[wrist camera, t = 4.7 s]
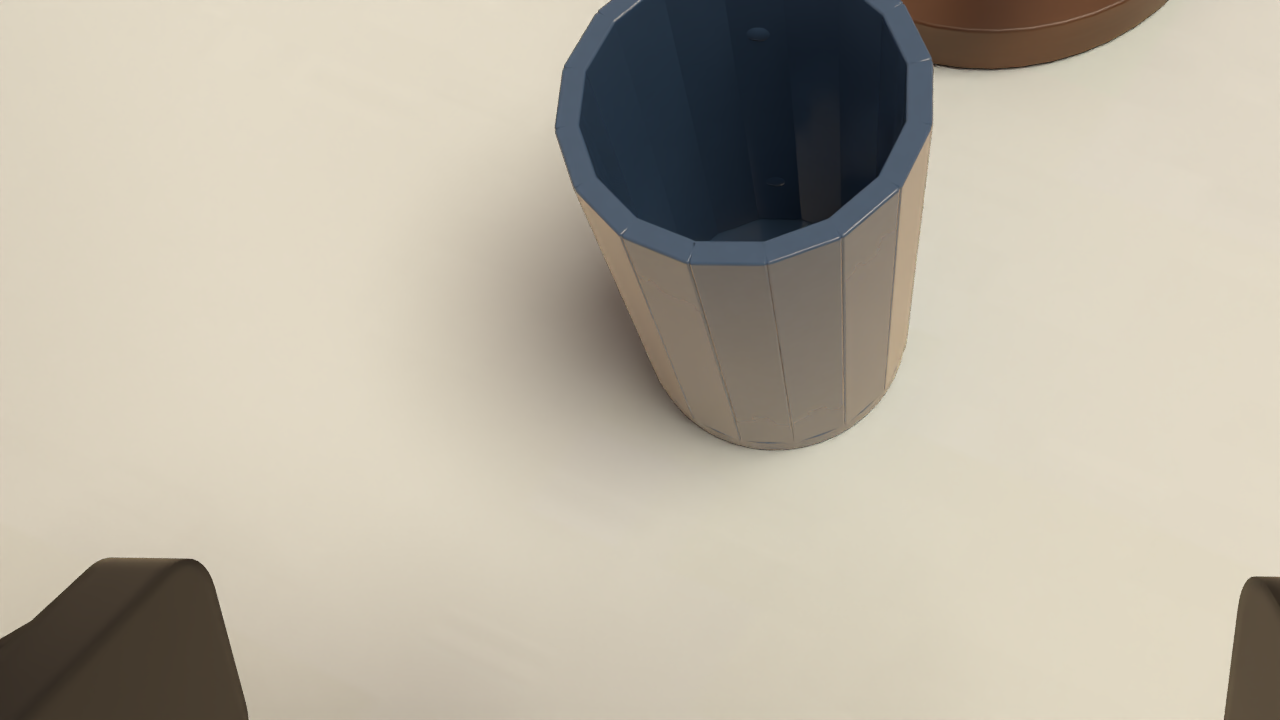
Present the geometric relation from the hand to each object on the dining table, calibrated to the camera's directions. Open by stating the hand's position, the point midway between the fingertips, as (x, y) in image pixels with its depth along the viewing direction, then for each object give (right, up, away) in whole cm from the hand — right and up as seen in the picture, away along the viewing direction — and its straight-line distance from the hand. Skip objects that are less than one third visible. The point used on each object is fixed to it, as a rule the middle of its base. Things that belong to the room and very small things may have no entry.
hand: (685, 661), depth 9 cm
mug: (+3, +5, +18) cm, 19 cm away
